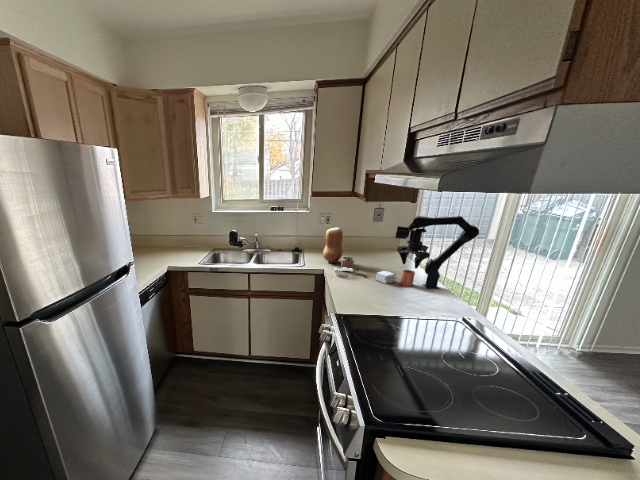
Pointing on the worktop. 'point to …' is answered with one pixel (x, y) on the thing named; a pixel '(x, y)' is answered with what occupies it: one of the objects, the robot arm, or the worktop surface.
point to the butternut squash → (333, 245)
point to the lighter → (348, 262)
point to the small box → (385, 277)
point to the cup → (407, 278)
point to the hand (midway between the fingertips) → (409, 266)
